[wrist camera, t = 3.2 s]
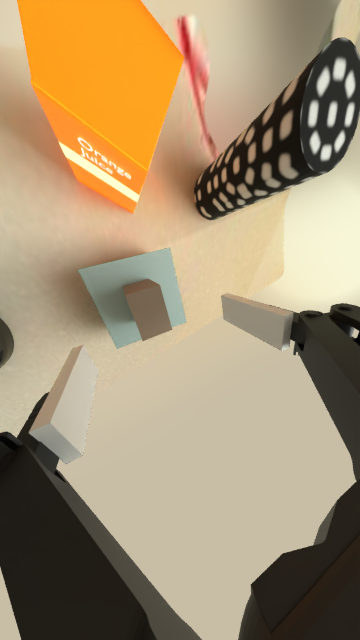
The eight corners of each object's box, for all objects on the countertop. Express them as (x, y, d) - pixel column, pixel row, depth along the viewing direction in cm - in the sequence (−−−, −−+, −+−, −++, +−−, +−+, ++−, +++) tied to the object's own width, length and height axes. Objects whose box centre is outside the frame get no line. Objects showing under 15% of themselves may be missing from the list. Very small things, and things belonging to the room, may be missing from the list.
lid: (117, 345, 26) (117, 376, 19) (79, 269, 20) (60, 273, 13) (183, 319, 29) (205, 338, 22) (167, 248, 24) (189, 242, 17)
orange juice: (133, 214, 27) (162, 131, 10) (76, 180, 23) (-45, -64, 6) (148, 167, 26) (213, -29, 8) (90, 122, 22) (-18, -449, 4)
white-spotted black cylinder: (229, 216, 34) (347, 170, 17) (197, 223, 32) (294, 177, 14) (227, 168, 30) (374, 44, 13) (190, 172, 28) (309, 29, 11)
